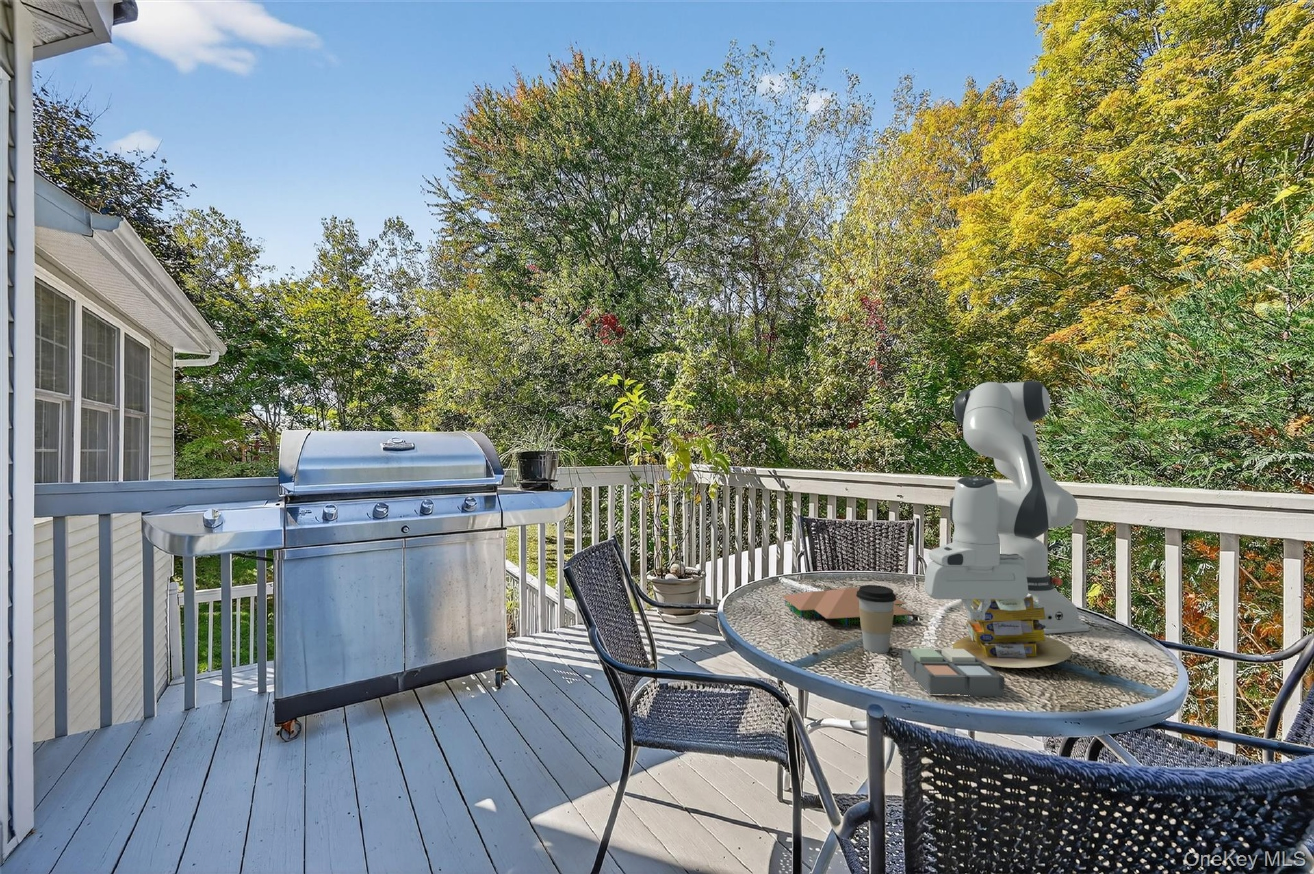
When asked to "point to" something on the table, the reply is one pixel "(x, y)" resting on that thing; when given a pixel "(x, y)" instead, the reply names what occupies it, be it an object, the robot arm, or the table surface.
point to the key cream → (958, 655)
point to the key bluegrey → (973, 670)
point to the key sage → (926, 655)
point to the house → (834, 604)
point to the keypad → (953, 677)
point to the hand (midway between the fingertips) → (975, 619)
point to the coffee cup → (876, 616)
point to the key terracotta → (940, 670)
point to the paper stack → (1012, 635)
